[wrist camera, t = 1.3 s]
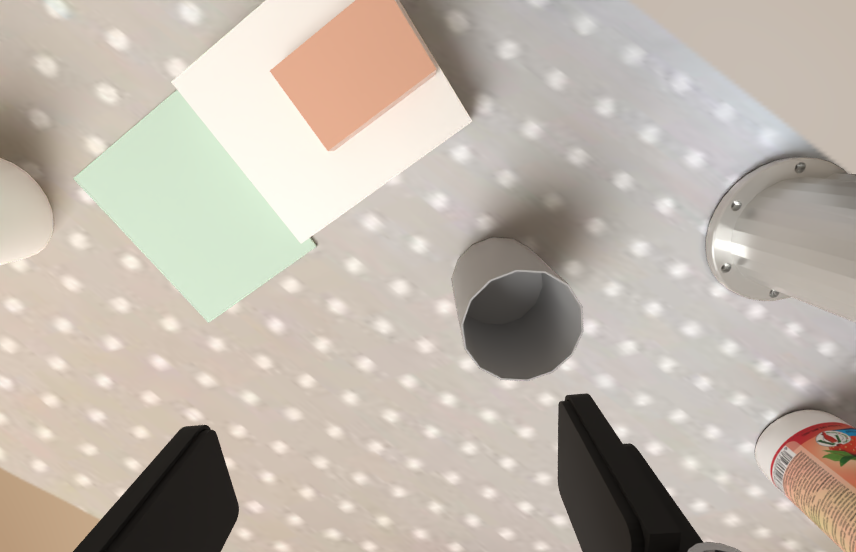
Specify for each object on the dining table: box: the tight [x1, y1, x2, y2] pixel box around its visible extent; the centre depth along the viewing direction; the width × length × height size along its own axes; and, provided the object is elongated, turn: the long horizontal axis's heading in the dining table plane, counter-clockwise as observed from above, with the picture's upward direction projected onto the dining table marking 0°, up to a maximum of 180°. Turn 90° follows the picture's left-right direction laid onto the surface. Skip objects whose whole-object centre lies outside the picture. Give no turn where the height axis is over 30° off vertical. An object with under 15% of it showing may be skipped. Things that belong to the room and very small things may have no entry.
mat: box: [73, 90, 317, 323], centre depth 34 cm, size 13×16×1 cm
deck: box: [171, 0, 472, 244], centre depth 30 cm, size 16×14×4 cm
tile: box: [270, 0, 437, 151], centre depth 26 cm, size 9×6×2 cm, turn 124°
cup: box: [451, 237, 583, 381], centre depth 32 cm, size 8×8×10 cm
